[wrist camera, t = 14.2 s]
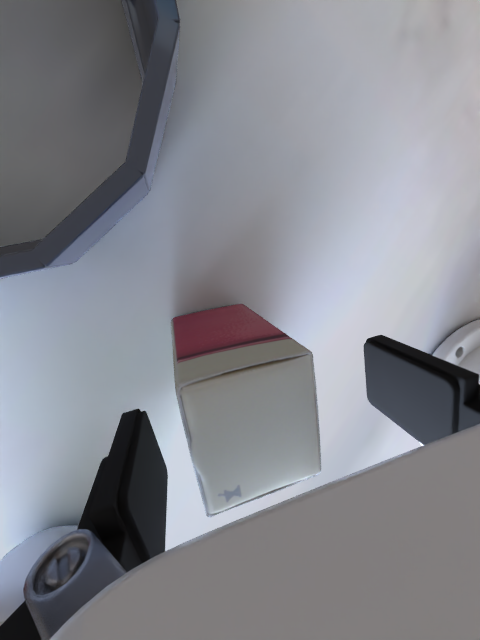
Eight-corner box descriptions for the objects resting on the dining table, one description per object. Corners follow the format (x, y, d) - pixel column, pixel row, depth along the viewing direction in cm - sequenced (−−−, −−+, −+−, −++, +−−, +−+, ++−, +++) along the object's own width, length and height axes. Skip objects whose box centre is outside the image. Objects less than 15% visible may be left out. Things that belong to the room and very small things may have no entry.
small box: (254, 377, 17) (325, 478, 9) (187, 396, 16) (207, 524, 8) (243, 300, 15) (318, 348, 8) (168, 315, 14) (172, 387, 7)
